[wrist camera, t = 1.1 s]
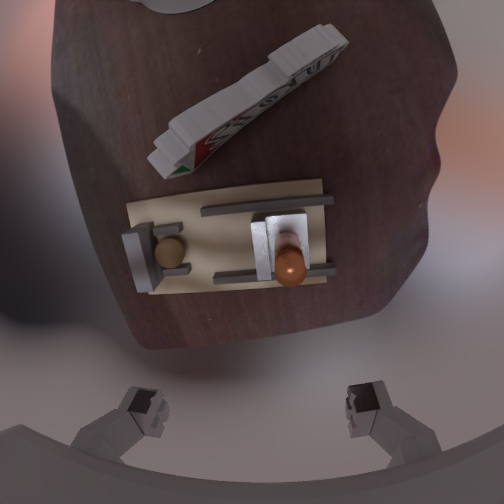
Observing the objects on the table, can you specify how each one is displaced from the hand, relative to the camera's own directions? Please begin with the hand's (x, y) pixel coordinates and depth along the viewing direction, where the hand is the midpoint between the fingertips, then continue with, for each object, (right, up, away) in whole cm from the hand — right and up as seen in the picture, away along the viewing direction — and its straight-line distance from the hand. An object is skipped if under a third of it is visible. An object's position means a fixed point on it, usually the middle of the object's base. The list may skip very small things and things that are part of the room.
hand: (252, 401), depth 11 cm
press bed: (-3, +8, +28) cm, 29 cm away
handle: (+4, +8, +25) cm, 27 cm away
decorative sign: (0, +24, +21) cm, 32 cm away
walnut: (-11, +6, +25) cm, 28 cm away
